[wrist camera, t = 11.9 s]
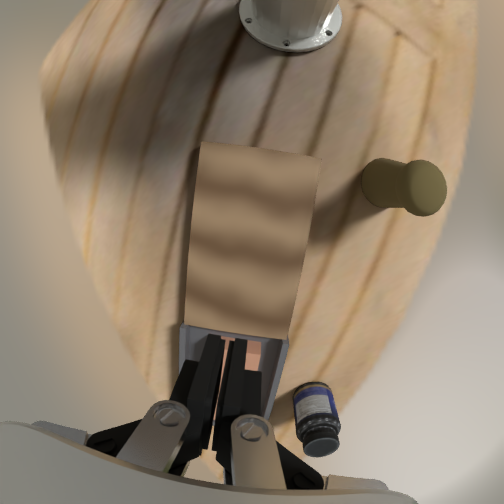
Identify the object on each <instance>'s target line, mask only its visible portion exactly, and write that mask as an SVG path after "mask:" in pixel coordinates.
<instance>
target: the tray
mask: <svg viewBox="0 0 504 504" xmlns="http://www.w3.org/2000/svg"><path fill="white" fill-rule="evenodd" d="M209 333H210V334H215V335H221V336H224V337H230V338H240V339H247V340H250V341H257V342H261V356H260V361H259V366H258V371H261V372H262V383H261V417H263V418H265V419H266V420H269V417H270V413H271V410H272V407H273V403H274V400H275V396H276V392H277V389H278V385H279V382H280V378H281V374H282V370H283V367H284V363H285V359H286V355H287V351H288V347H289V339H288V335H287V339H286V340H283V339H275V338H267V337H259V336H252V335H245V334H238V333H232V332H225V331H219V330H213V329H208V328H202V327H196V326H191V325H186V324H184V320H183V322H182V324H181V326H180V336H179V374H180V371H181V368H182V366H183V363H184V361H185V360H186V359H188V360H193V361H198V362H199V361H200V358H201V355H202V351H203V348H204V345H205V342H206V339H207V336H208V334H209ZM213 425H215V420H213Z"/></svg>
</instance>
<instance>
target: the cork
mask: <svg viewBox="0 0 504 504" xmlns="http://www.w3.org/2000/svg"><path fill="white" fill-rule="evenodd" d="M361 185H362V190H363V193H364V195H365V196H366V198H367V199H368V200H369V201H370V202H371V203H372V204H373V205H376V206H378V207H384V208H405V209H406V210H407V211H408V212H410V213H412V214H414V215H416V216H423V217H424V216H429V215H432V214H434V213H436V212H437V211H438V210H439V209H440V208H441V206H442V205H443V204H444V201H445V199H446V194H447V186H446V181H445V178H444V176H443V174H442V172H441V171H440V170H439V168H438V167H437V166H435V165H434V164H432V163H431V162H429V161H425V160H415V161H411V162H409V163H408V164H405V163H402V162H398V161H394V160H390V159H385V158H379V159H375V160H373V161H372V162H370V163H369V164H368V165H367V166H366V168H365V169H364V171H363V174H362V180H361Z"/></svg>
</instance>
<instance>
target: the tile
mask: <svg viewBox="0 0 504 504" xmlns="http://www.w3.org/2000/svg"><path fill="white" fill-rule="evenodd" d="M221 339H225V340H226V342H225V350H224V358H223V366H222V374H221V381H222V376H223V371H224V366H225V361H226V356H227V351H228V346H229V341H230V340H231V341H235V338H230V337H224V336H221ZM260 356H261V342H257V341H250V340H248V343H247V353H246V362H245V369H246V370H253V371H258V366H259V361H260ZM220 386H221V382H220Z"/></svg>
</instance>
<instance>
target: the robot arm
mask: <svg viewBox="0 0 504 504" xmlns="http://www.w3.org/2000/svg"><path fill="white" fill-rule="evenodd" d="M338 1H339V0H241V2H240V6H239V14H240V19H241V22H242V25H243V26H244V28H245V30H246V31H247V32H248V33H249V34H250V35H251V36H252V37H253V38H254V39H256V40H257V41H258V42H260V43H262V44H264V45H266V46H268V47H271V48H274V49H277V50H281V51H286V52H308V51H312V50H316V49H319V48H321V47H323V46H325V45H327V44H328V43H330V42H331V41H332V40H333V39H334V38H335V37H336V35H337V34H338V32H339V30H340V27H341V25H342V13H341V9H340V7H339V5H338ZM328 35H329V36H328ZM284 45H288V46H284ZM225 342H226V340H225V339H221V335H215V334H210V333H209V334H208V336H207V339H206V342H205V345H204V348H203V351H202V355H201V358H200V361H199V362H198V361H193V360H188V359H186V360H185V361H184V363H183V366H182V368H181V371H180V374H179V376H178V379H177V381H176V384H175V386H174V389H173V391H172V394H171V397H170V399H169V400H164V401H159V402H157V403H155V404H154V405H153V406H152V407H151V408H150V409H149V410H148V412H147V413H146V415H145V416H144V418H143V419H140V420H137V421H134V422H131V423H128V424H124V425H121V426H118V427H115V428H111V429H108V430H104V431H100V432H97V433H95V434H93V435H91V434H88V433H87V431H83V430H78V429H74V428H70V427H65V426H61V425H57V424H54V423H50V422H46V421H37V422H34V423H33V424H27V423H21V422H15V421H5V422H0V504H418V503H417V501H415V500H414V499H413V498H411V497H410V496H408V495H406V494H403V493H399V492H395V491H390V490H388V487H387V486H386V484H385V483H383V482H381V481H379V480H375V479H363V478H353V477H344V476H336V475H329V476H328V477H327V476H321V475H320V474H319V473H318V472H317V471H316V470H314V469H313V468H312V467H310V466H309V465H307V464H306V463H305V462H303V461H302V460H301V459H299V458H298V457H297V456H295V455H294V454H293V453H291V452H290V451H289V450H287V449H286V448H285V447H284V446H282V445H281V444H280V443H278V442H277V441H276V439H275V435H274V430H273V427H272V425H271V424H270V423H269V421H268V420H266V419H265V418H263V417H261V383H262V372H261V371H253V370H246V369H245V362H246V353H247V343H248V340H247V339H240V338H235V341H231V340H230V341H229V346H228V351H227V356H226V361H225V366H224V371H223V376H222V381H221V374H222V366H223V358H224V350H225ZM220 382H221V386H220ZM219 389H220V391H219ZM218 395H219V396H218ZM217 400H218V401H217ZM216 405H217V408H216ZM215 410H216V416H215V425H214V434H213V443H212V451H217V454H216V460H217V461H218V462H219V463H220V464H221V465H222V466H223V467H224V469H223V475H224V484H218V483H211V482H206V481H200V480H195V479H189V478H185V477H184V475H185V473H186V471H187V468H188V466H189V463H190V460H192V459H195V458H197V457H199V455H200V456H201V453H202V449H206V450H207V449H208V445H209V440H210V435H211V430H212V425H213V420H214V415H215Z"/></svg>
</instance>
